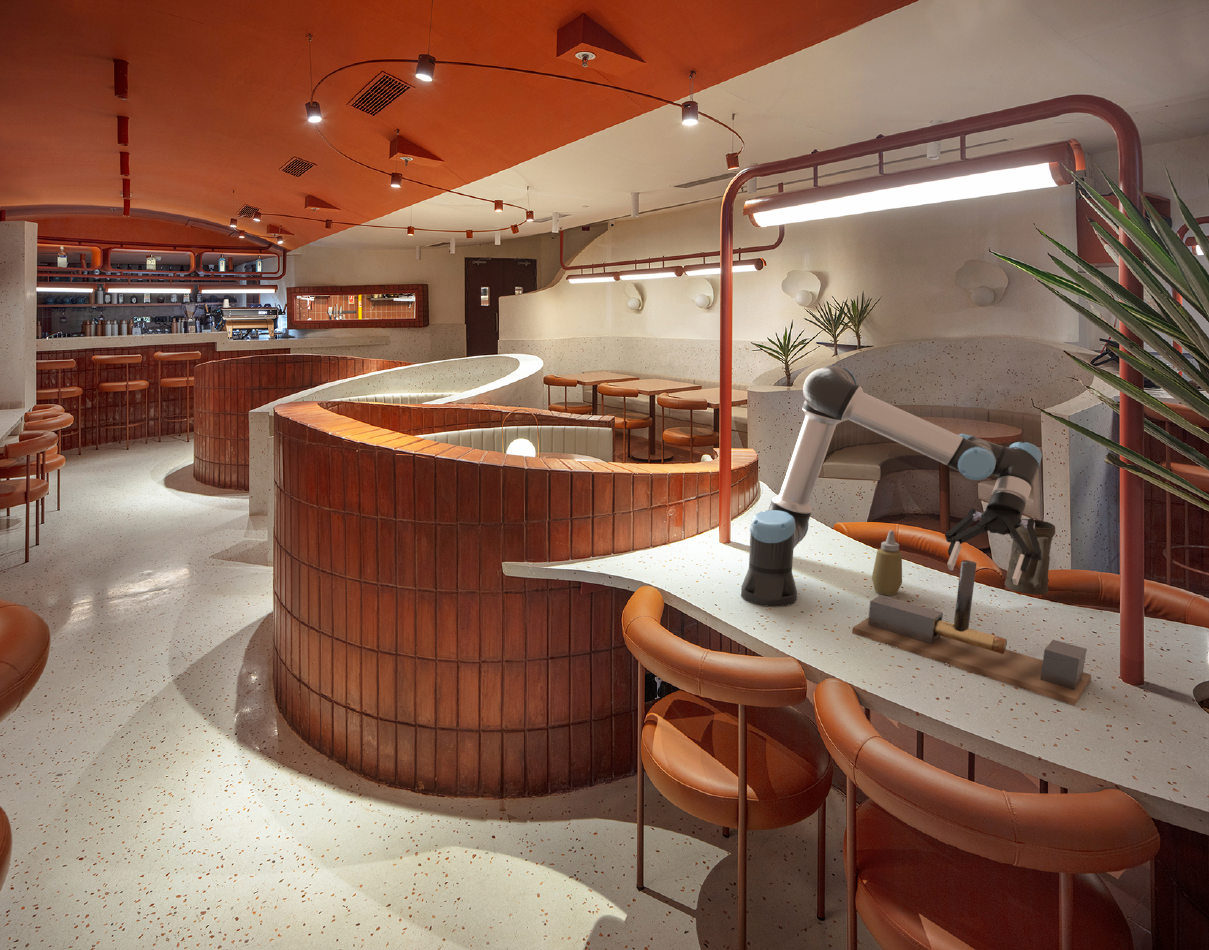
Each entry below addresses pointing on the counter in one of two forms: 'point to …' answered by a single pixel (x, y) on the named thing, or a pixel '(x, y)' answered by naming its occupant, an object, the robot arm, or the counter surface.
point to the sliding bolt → (968, 616)
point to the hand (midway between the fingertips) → (981, 574)
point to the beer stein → (1038, 569)
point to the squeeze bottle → (888, 567)
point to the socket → (1063, 664)
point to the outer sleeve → (904, 618)
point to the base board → (980, 662)
